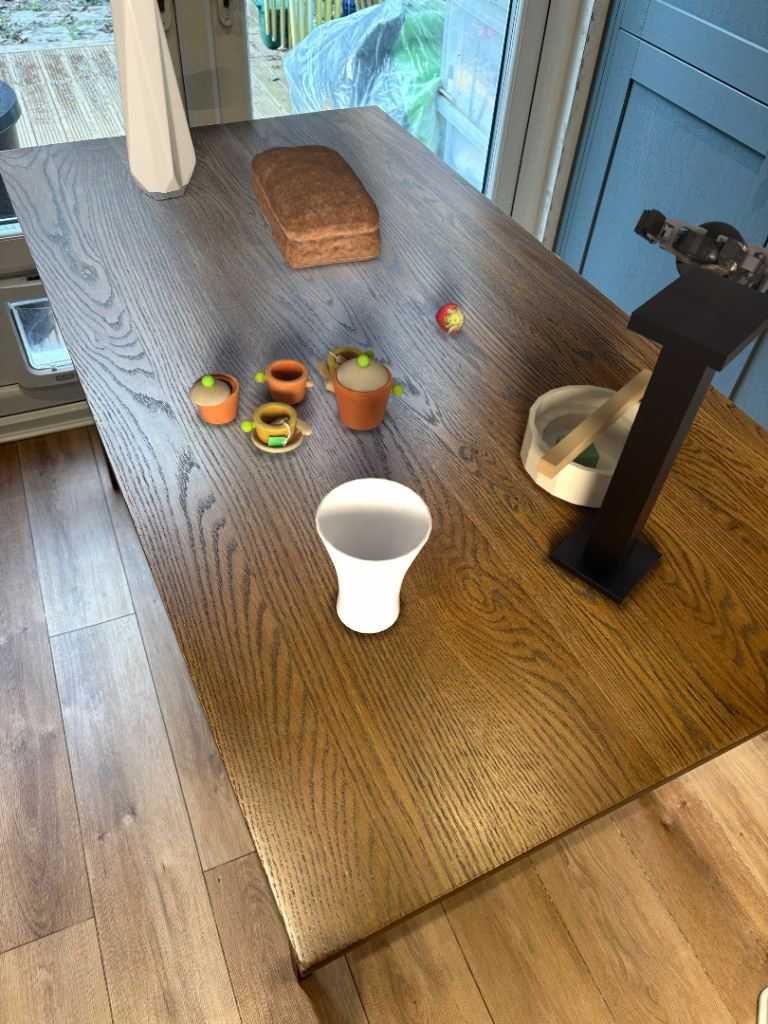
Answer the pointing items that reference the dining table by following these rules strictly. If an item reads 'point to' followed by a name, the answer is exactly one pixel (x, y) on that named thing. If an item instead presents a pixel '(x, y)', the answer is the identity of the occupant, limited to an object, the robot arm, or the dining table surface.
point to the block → (585, 455)
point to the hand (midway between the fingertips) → (687, 233)
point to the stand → (662, 420)
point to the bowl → (559, 418)
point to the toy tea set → (301, 396)
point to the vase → (150, 99)
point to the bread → (315, 206)
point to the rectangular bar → (593, 426)
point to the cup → (372, 546)
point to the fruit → (450, 318)
